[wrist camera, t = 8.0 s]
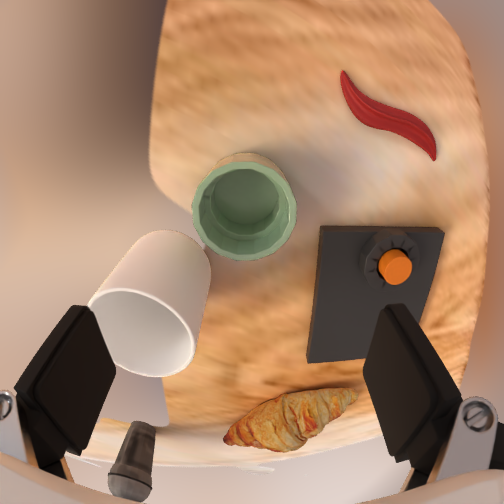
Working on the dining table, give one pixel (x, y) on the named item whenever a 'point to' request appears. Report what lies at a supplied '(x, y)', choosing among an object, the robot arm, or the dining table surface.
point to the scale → (365, 285)
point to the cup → (154, 304)
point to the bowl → (244, 207)
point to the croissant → (290, 419)
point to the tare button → (395, 266)
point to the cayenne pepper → (387, 117)
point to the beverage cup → (134, 464)
